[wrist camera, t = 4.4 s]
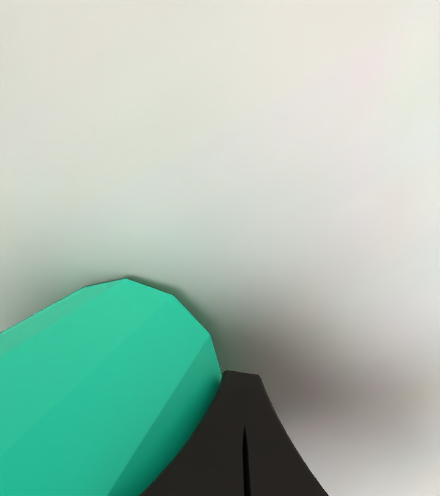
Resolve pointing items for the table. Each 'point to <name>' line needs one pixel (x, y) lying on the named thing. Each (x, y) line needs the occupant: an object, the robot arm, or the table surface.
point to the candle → (101, 391)
